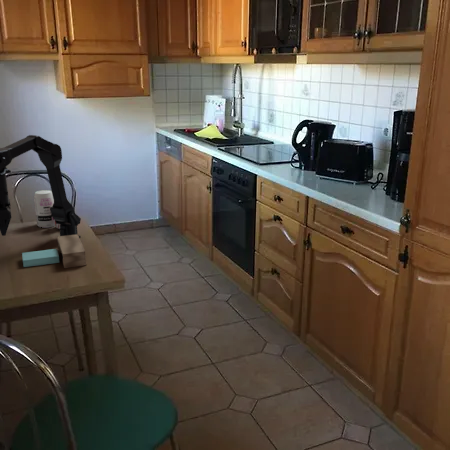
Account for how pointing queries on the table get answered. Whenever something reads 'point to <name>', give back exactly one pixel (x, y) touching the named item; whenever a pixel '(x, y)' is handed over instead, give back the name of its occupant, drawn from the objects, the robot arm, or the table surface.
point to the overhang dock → (71, 251)
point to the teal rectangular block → (40, 257)
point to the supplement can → (44, 208)
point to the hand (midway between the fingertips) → (3, 232)
